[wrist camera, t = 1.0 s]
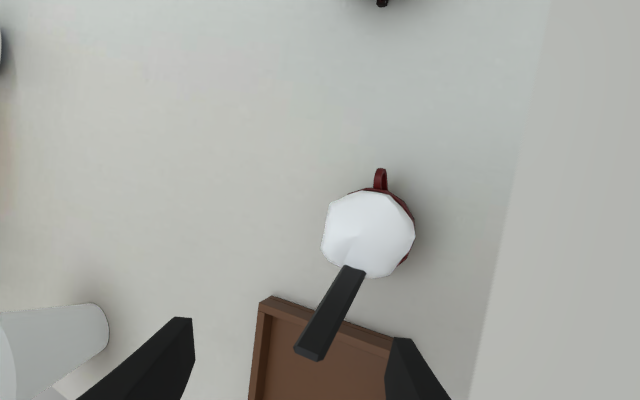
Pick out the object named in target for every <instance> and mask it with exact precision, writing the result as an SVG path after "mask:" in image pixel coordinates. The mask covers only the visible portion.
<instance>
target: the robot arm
mask: <svg viewBox="0 0 640 400" xmlns="http://www.w3.org/2000/svg"><path fill="white" fill-rule="evenodd" d="M194 363H195V349H194V338H193V326H192V318H184V317H174V318H172V319H171V320H170V321H169V322H168V323H167V324H165V325H164V326H163V327H162V328H161V329H160V330H159V331H158V332H157V333H155V334H154V335H153V336H152V337H151V338H150V339H149V340H148V341H147V342H145V343H144V344H143V345H142V346H141V347H140V348H139V349H137V350H136V351H135V352H134V353H133V354H132V355H130V356H129V357H128V358H127V359H126V360H125V361H123V362H122V363H121V364H120V365H119V366H118V367H116V368H115V369H114V370H113V371H112V372H110V373H109V374H108V375H107V376H105V377H104V378H103V379H102V380H100V381H99V382H98V383H97V384H95V385H94V386H93V387H92V388H90V389H89V390H88V391H86V392H85V393H84V394H83V395H81V396H80V397H79V398H77V399H76V400H180V399H181V397H182V394H183V392H184V390H185V387H186V385H187V382H188V380H189V377H190V374H191V371H192V368H193V366H194ZM384 384H385V395H386V400H451V398H450V397H449V396H448V394H447V393H446V391H445V390H444V388H443V387H442V386H441V384H440V383H439V381H438V380H437V378H436V377H435V375H434V374H433V372H432V371H431V369H430V368H429V366H428V364H427V363H426V361H425V360H424V358H423V357H422V355H421V353H420V352H419V350H418V349H417V347H416V345H415V344H414V342H413V341H412V340H411V339H409V338H398V337H394V338H393V342H392V346H391V350H390V354H389V359H388V363H387V367H386V371H385V375H384Z"/></svg>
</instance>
